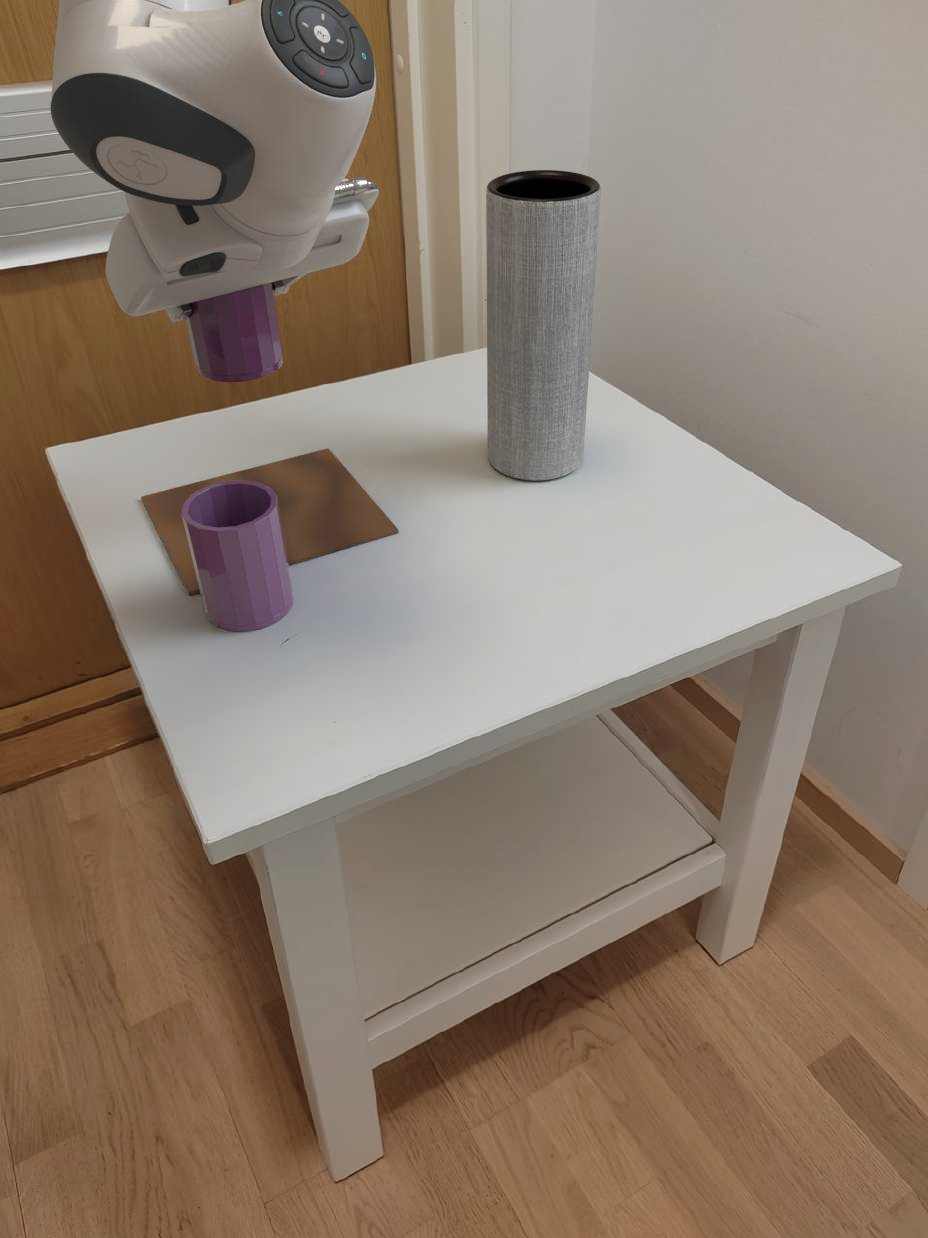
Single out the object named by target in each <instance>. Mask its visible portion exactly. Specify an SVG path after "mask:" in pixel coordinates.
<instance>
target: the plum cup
mask: <svg viewBox="0 0 928 1238" xmlns="http://www.w3.org/2000/svg"><path fill="white" fill-rule="evenodd" d="M276 302H277V301H276V296H275V294H274V288H273V282H271V283H267V284H263V285H259V286H255V287H251V288H247V289H243V290H239V291H235V292H231V293H227V294H223V295H219V296H215V297H212V298H208V299H204V300H200V301H196V302H192V303H190V305H191V307H192V313H191V314H190V316H191V317H190V318H189V319H185V323H186V327H187V332H188V336H189V342H190V346H191V350H192V355H193V361H194V364H195V366H196V370H197V373H198V374H199V375H200V376H201V377H203V378H205V379H207V380H210V381H213V382H218V383H219V382H220V383H243V382H249V381H254V380H258V379H262V378H264V377H267V376H270V375H272V374H273V373H275V372H277V371H278V370H279V369H280V368H281V367H282V366H283V364H284V360H285V359H284V350H283V348H284V347H283V341H282V335H281V328H280V321H279V316H278V315H279V314H278V309H277V303H276Z"/></svg>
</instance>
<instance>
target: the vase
mask: <svg viewBox="0 0 928 1238" xmlns="http://www.w3.org/2000/svg"><path fill="white" fill-rule="evenodd" d="M485 190H486V191H485V201H486V202H485V204H486V205H485V211H486V212H485V215H486V216H485V219H486V220H485V221H486V223H485V225H486V226H485V228H486V230H485V231H486V232H485V233H486V235H485V236H486V241H485V242H486V378H487V379H486V385H487V386H486V388H487V389H486V391H487V392H486V395H487V396H486V398H487V399H486V404H487V406H486V407H487V418H486V419H487V455H488V456H487V457H488V462H489V463H490V465H491V466H492V467H493V468H494V469H495V470H496V471H498V472H499V473H501V474H503V475H505V476H507V477H511V478H512V479H513V478H514V479H518V480H522V481H530V482H531V481H532V482H535V481H537V482H538V481H539V482H540V481H541V482H542V481H550V480H556V479H559V478H563V477H565V476H567V475H569V474H571V473H573V472H575V471H576V470H577V469H578V468H579V467H580V466H581V464H582V462H583V458H584V451H585V439H586V424H587V423H586V422H587V408H588V391H589V378H590V376H589V375H590V361H591V345H592V333H593V332H592V330H593V317H594V316H593V315H594V301H595V284H596V269H597V254H598V241H599V240H598V239H599V225H600V223H599V222H600V210H601V209H600V207H601V191H602V188H601V184H600V182H599V181H597V180H596V179H595V178H593V177H591V176H589V175H586V174H584V173H583V174H582V173H579V172H575V171H567V170H557V169H556V170H555V169H534V170H533V169H532V170H522V171H515V172H510V173H509V172H508V173H505V174H502V175H499V176H497V177H495V178H493V179H492V180H491V181H489V182H488V184H487V185H486V188H485Z"/></svg>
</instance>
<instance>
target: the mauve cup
mask: <svg viewBox="0 0 928 1238" xmlns="http://www.w3.org/2000/svg"><path fill="white" fill-rule="evenodd" d="M181 515H182V519H183V523H184V527H185V531H186V535H187V539H188V543H189V548H190V552H191V556H192V560H193V564H194V568H195V572H196V576H197V580H198V585H199V589H200V592H199V593H200V597H201V600H202V605H203V608H204V610H205V614H206V616H207V618H208V620H209V621H210V622H211V624H213V625H214V626H216V627H218V628H220V629H224V630H225V631H226V630H227V631H234V632H251V631H257V630H261V629H265V628H268V627H270V626H272V625H274V624H275V623H278V622H279V621H281V620H282V619H283V618H284V617H285V616H287V615H288V613H289V612H290V610H291V609H292V607H293V604H294V594H293V590H294V589H293V584H292V576H291V571H290V565H288V559H287V553H286V547H285V541H284V535H283V529H282V523H281V517H280V511H279V505H278V499H277V495H276V494H275V493H274V492H273V491H272V489H271V488H270V487H267V486H265V485H263V484H261V483H258V482H251V481H244V480H242V481H241V480H238V481H226V482H221V483H217V484H213V485H210V486H207V487H204V488H203V489H201V490H199V491H197V492H195V493H193V494H192V495H191V496H190V497H189V498H188V499H187V500H186V501H185V502H184V504H183V507H182V513H181Z"/></svg>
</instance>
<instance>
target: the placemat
mask: <svg viewBox="0 0 928 1238" xmlns="http://www.w3.org/2000/svg"><path fill="white" fill-rule="evenodd" d="M238 480H241V481H242V480H244V481H251V482H258V483H261V484H263V485H265V486H267V487H270V488H271V489H272V491H273V492H274V493H275V494H276V495H277V499H278V505H279V511H280V517H281V523H282V529H283V535H284V541H285V547H286V553H287V559H288V565H289V566H292V565H296V564H299V563H303V562H305V561H308V560H312V559H316V558H319V557H322V556H326V555H329V554H332V553H335V552H339V551H342V550H344V549H348V548H351V547H355V546H358V545H362V544H365V543H369V542H373V541H375V540H379V539H382V538H386V537H388V536H392V535H395V534H399V528H398V527H397V526H396V524H394V523H393V521H392V520H391V519H390V518H389V517H388V516H387V514H386V513H385V512H384V511H383V510H382V508H381V507H380V506H379V505H378V504H377V503H376V502H375V500H373V498H372V497H371V496H370V494H369V493H368V492H367V491H366V490H365V489H364V488H363V486H362V485H361V484H360V483H359V482H358V481H357V479H356V478H355V477H354V476H353V475H352V474H351V473H350V472H349V470H348V469H347V468H346V466H345V465H344V464H343V463H342V462H341V461H340V459H338V457H337V456H336V455H335V454H334V453H333V451H332V450H331V449H330V448H329V447H326V448H323V449H319V450H315V451H311V452H309V453H303V454H299V455H296V456H293V457H289V458H285V459H281V460H277V461H273V462H269V463H266V464H265V463H264V464H261V465H258V466H253V467H249V468H246V469H242V470H239V471H235V472H234V471H233V472H231V473H227V474H223V475H219V476H216V477H215V476H214V477H212V478H207V479H204V480H203V479H202V480H199V481H196V482H192V483H188V484H185V485H180V486H177V487H172V488H168V489H165V490H162V491H157V492H153V493H150V494H146V495H142V496H140V499H141V501H142V504H143V505H144V507H145V510H146V511H147V514H148V516H149V518H150V520H151V522H152V523H153V526H154V528H155V530H156V532H157V534H158V535H159V538H160V540H161V542H162V544H163V546H164V548H165V550H166V552H167V555H169V559H170V560H171V563H172V564H173V566H174V569H175V570H176V572H177V574H178V576H179V579H180V580H181V583H182V584H183V586H184V589H185V590H186V593H187V595H188V596H193V595H196V594H199V593H200V589H199V585H198V580H197V576H196V572H195V568H194V564H193V560H192V556H191V552H190V548H189V543H188V539H187V535H186V531H185V527H184V523H183V519H182V515H181V513H182V507H183V504H184V502H185V501H186V500H187V499H188V498H189V497H190V496H191V495H192V494H193V493H195V492H197V491H199V490H201V489H203V488H204V487H207V486H210V485H213V484H217V483H221V482H226V481H238Z"/></svg>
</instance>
